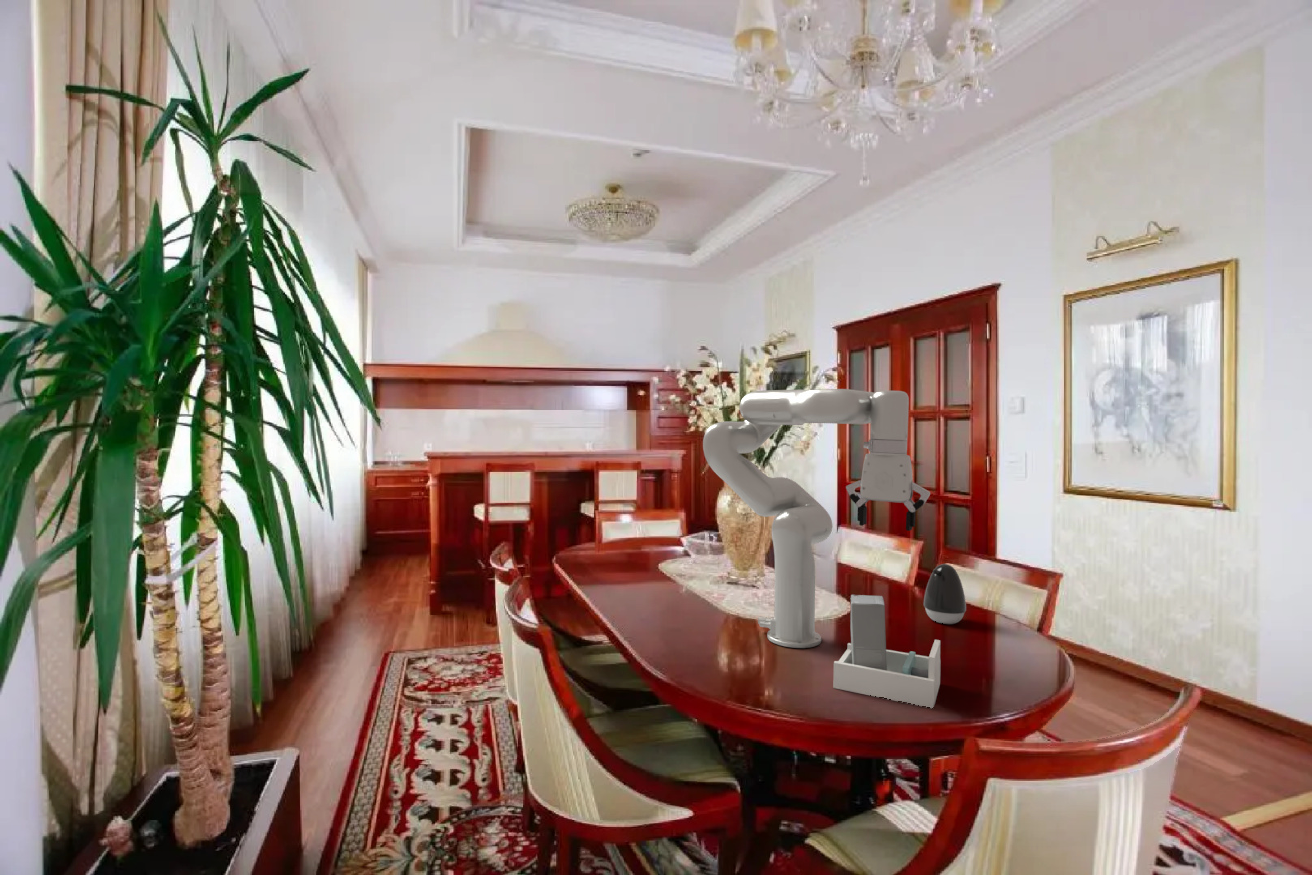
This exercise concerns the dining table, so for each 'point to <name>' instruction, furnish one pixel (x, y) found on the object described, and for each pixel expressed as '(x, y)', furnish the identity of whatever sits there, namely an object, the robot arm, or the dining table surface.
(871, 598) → the skincare box
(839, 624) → the dining table surface
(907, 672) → the pusher
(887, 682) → the open box with divider
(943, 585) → the dark grey egg shape
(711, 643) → the dining table surface
